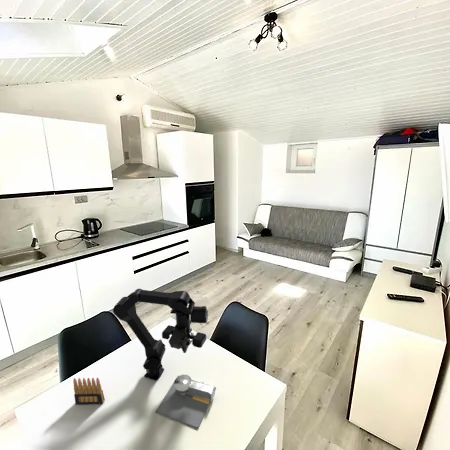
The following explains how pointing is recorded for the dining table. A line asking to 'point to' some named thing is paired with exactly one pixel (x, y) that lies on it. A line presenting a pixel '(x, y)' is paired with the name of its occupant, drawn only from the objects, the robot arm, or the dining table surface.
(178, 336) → the robot arm
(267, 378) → the dining table surface
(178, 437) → the dining table surface
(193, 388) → the elbow
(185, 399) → the base
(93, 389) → the ammunition clip
